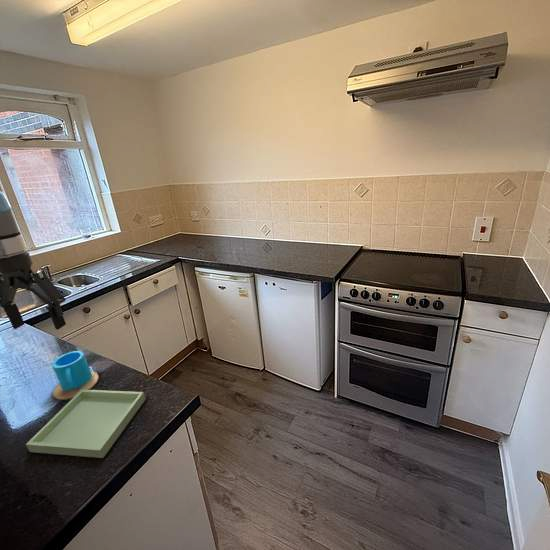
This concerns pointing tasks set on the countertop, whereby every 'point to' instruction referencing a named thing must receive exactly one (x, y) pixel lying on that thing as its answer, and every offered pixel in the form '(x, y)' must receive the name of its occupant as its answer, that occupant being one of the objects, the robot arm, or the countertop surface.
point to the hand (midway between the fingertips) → (40, 326)
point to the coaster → (69, 394)
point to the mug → (72, 370)
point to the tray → (88, 424)
